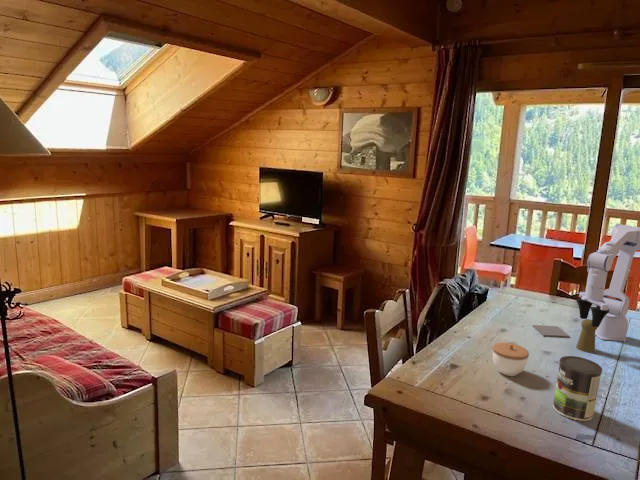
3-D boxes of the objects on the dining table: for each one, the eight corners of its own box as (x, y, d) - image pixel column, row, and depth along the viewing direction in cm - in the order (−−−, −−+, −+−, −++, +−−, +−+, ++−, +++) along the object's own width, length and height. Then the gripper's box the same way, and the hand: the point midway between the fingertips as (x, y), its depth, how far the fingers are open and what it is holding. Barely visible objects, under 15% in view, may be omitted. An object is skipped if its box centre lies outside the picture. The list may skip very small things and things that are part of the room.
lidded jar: (503, 381, 148) (507, 353, 146) (483, 365, 158) (486, 338, 156) (533, 378, 151) (537, 350, 149) (511, 362, 161) (514, 336, 159)
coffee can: (566, 421, 127) (574, 373, 124) (545, 401, 137) (552, 355, 134) (602, 421, 128) (611, 373, 125) (579, 400, 138) (586, 355, 135)
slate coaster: (556, 329, 194) (557, 326, 194) (569, 339, 185) (569, 336, 184) (532, 327, 194) (532, 325, 194) (543, 337, 185) (543, 334, 184)
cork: (597, 353, 171) (602, 324, 169) (579, 351, 172) (584, 322, 170) (591, 346, 177) (596, 318, 175) (574, 344, 178) (578, 316, 176)
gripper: (573, 280, 176) (567, 314, 179) (596, 292, 162) (589, 329, 165) (592, 280, 177) (586, 315, 179) (616, 293, 162) (609, 330, 165)
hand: (589, 322), depth 172 cm, fingers open, 7 cm apart
